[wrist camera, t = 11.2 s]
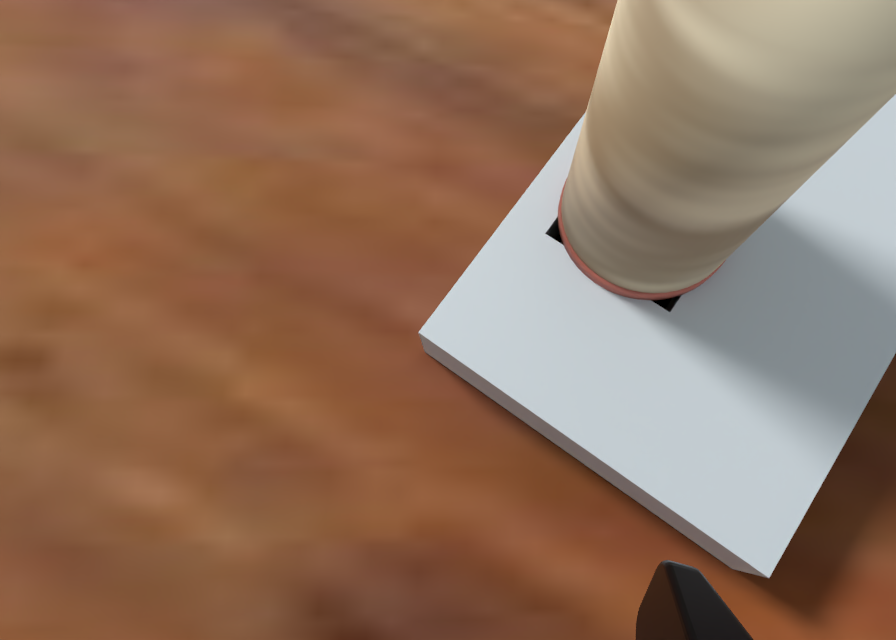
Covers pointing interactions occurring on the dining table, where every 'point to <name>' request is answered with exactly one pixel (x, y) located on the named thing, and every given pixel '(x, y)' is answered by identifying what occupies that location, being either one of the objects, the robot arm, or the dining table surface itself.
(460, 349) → the grey board
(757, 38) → the maple leg
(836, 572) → the dining table surface
